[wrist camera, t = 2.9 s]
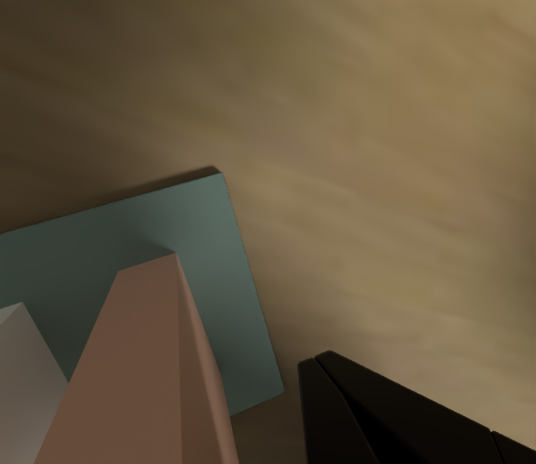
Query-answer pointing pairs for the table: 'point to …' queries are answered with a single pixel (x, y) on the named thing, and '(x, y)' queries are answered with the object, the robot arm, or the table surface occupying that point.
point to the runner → (137, 252)
